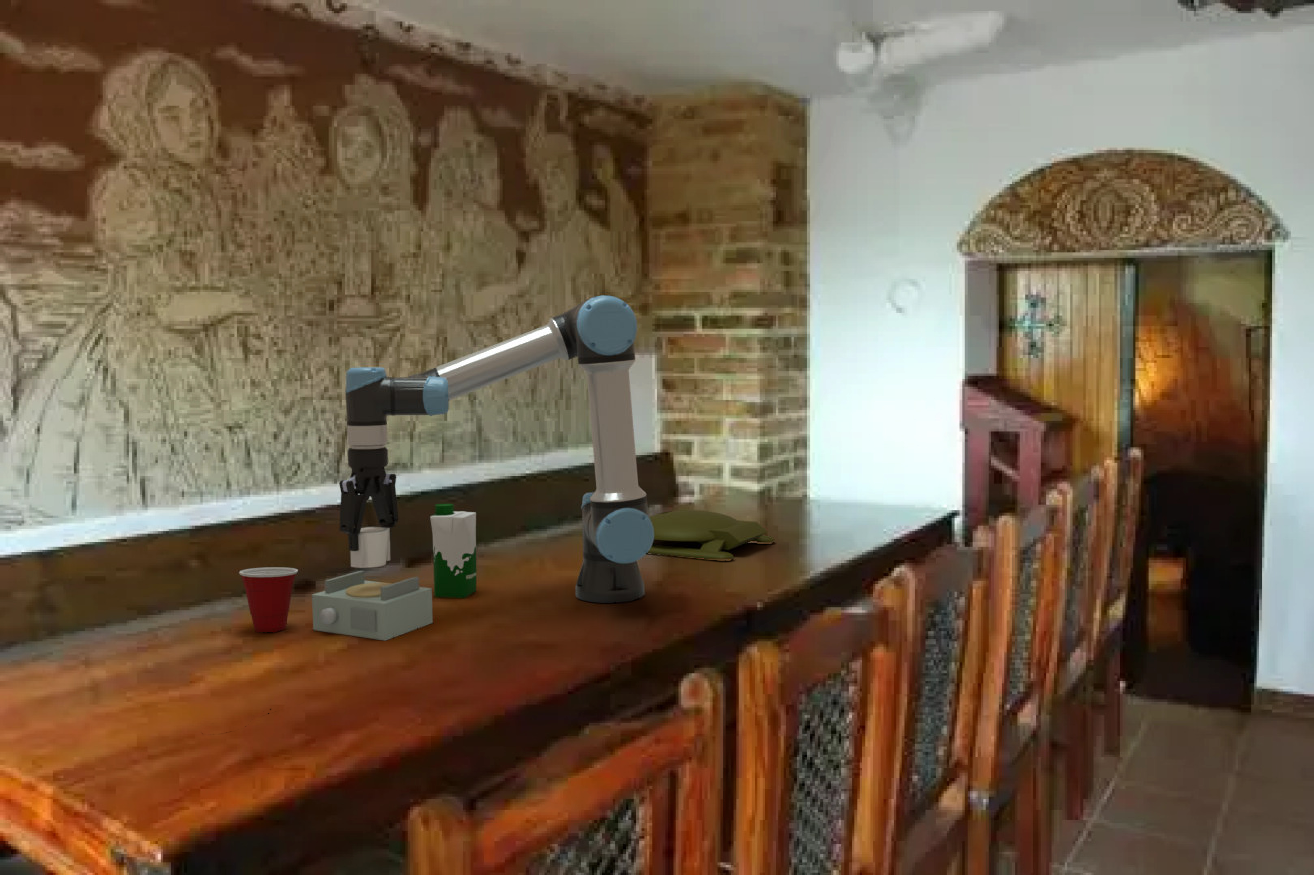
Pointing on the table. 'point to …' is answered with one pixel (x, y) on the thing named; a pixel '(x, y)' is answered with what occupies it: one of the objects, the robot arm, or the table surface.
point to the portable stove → (371, 607)
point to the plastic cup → (269, 596)
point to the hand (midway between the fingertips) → (370, 563)
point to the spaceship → (704, 533)
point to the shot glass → (374, 546)
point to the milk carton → (454, 551)
